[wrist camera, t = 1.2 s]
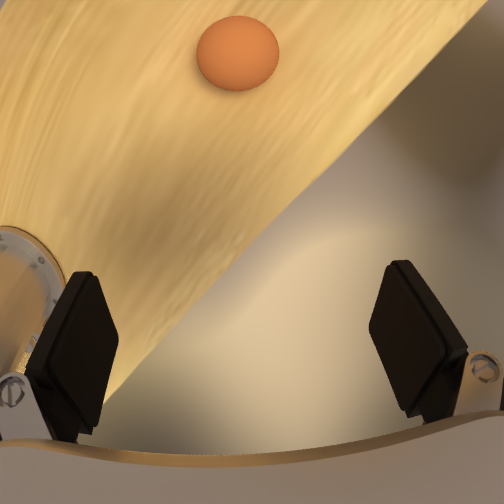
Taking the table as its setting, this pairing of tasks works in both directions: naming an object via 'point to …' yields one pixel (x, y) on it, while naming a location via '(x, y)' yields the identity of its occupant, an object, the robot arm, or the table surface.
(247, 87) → the ball
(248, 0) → the table surface
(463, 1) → the table surface
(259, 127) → the table surface
